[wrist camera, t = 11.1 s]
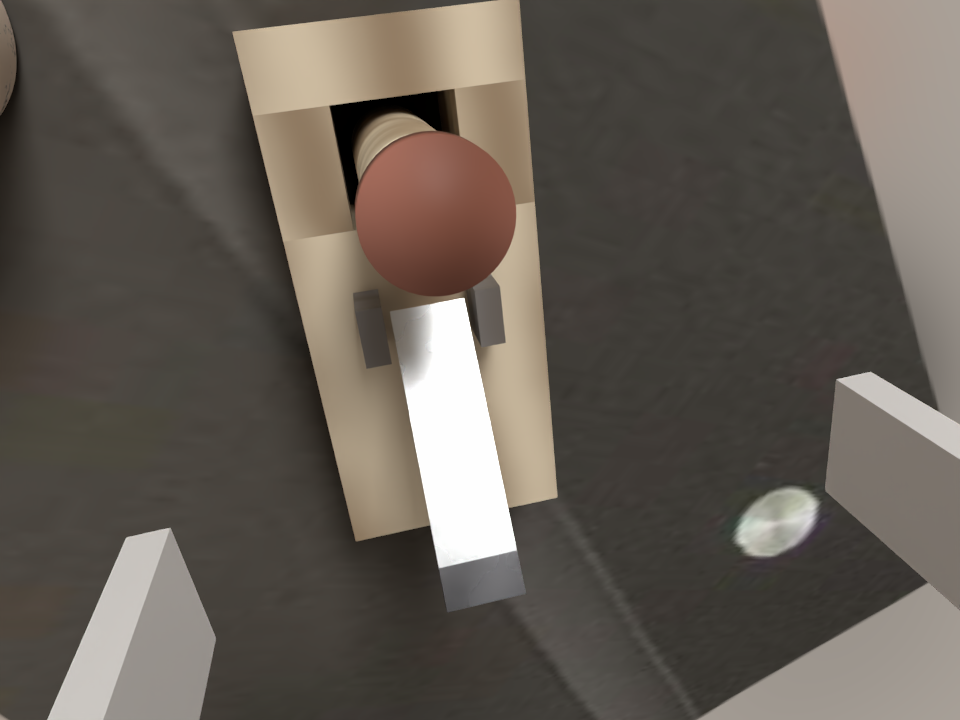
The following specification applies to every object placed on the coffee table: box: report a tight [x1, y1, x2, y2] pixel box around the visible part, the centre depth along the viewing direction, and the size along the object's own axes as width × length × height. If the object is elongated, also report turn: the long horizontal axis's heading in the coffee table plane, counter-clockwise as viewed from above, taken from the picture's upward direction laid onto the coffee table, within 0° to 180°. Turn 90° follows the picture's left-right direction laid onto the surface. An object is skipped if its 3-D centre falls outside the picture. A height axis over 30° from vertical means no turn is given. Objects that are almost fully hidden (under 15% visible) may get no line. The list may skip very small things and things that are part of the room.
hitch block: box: [233, 0, 557, 541], centre depth 30 cm, size 10×22×7 cm, turn 7°
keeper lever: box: [390, 298, 526, 612], centre depth 27 cm, size 3×12×1 cm
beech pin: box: [351, 104, 516, 297], centre depth 24 cm, size 4×4×15 cm
